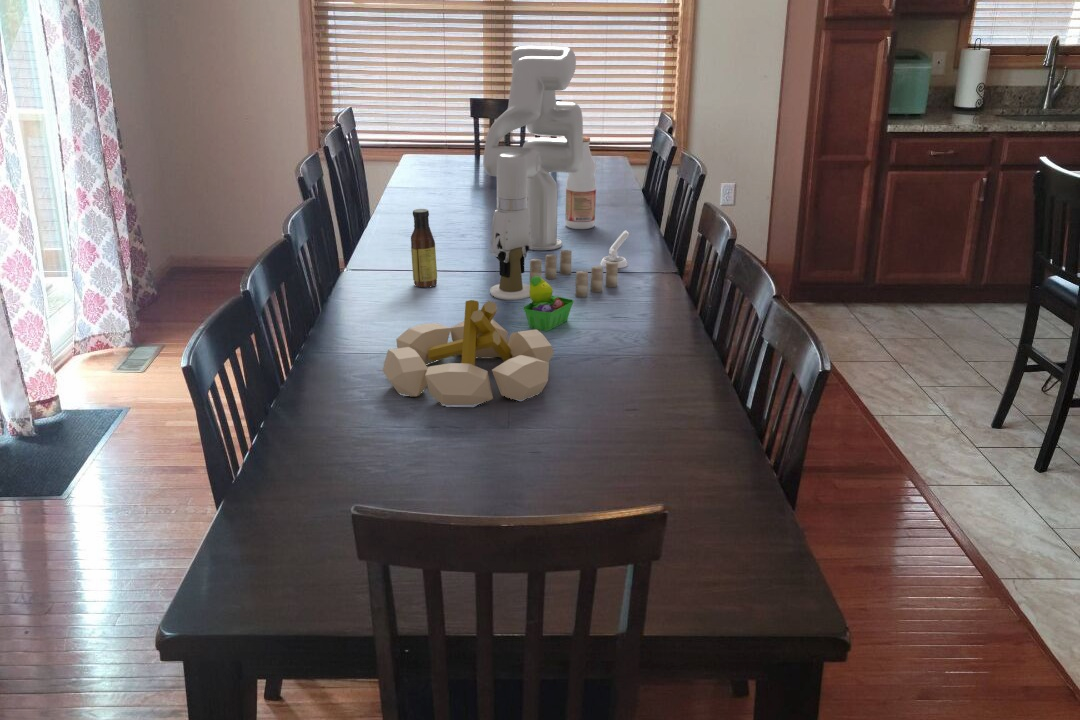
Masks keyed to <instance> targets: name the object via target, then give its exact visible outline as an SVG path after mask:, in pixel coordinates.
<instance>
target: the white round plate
mask: <svg viewBox="0 0 1080 720" xmlns="http://www.w3.org/2000/svg"><path fill="white" fill-rule="evenodd" d="M499 285H500V283H497V284H495V285H493V286H491V287H490V290H489V291H490V293H491V294H490V295H491V297H493V296H494V297H493V298H496V299H500V300H505V301H506V300H507V301H508V300H509V301H510V300H511V301H512V300H513V301H518V300H525V299H529V298H530V295H529V291H530V284H526V283H522V286H523V289H522V290H520V291H504V290H501V289H499Z"/></svg>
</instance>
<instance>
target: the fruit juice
mask: <svg viewBox="0 0 1080 720" xmlns="http://www.w3.org/2000/svg"><path fill="white" fill-rule="evenodd" d="M590 143H591V137H590V136H584V135H583V162H582V166H581V168H580V170H579V171H577V172H573V173H567V178H566V182H565V226H566V227H567V228H568V229H574V230H588V229H592V228H594V226H595V223H596V197H597V196H596V195H597V194H596V191H597V182H596V180H597V179H596V178H595V177H596V176H595V173H596V171H597V164H596V161H595V159H594V157H593V155H592V152H591V149H590Z"/></svg>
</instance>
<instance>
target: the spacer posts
mask: <svg viewBox="0 0 1080 720" xmlns="http://www.w3.org/2000/svg"><path fill="white" fill-rule="evenodd" d="M559 252H560V260H559V261H560V262H559V266H560V267H559V273H560V274H561V275H566V276H567V275H571V274H572V251H571V250H568V249H565V250H564V249H563V250H560V251H559ZM544 260H545V262H544V264H545V265H544V269H545V274H544V275H545V276H544V277H545V279H547V280H555V279H557V265H558V263H557V261H558V260H557V255H556V254H546V255H545V259H544ZM617 262H618V261H610V262H607V263H606V267H605V287H607V288H616V287H617V286H618V271H619V270H618V269H619V268H618V263H617ZM590 272H591V273H590V275H591V276H590V291H591V292H592V293H601V292H603V289H604V288H603V287H604V286H603V284H604V283H603V282H604V267H603V266H597V265H596V266H595V265H594V266H591V271H590ZM534 276H539V277H540V278H542V259H540V258H539V259H538V258H532V259H530V260H529V281H530V280H531V278H532V277H534ZM588 282H589V272H588V271H584V270H580V271H576V272H575V297H577V298H586V297H588V289H589V287H588V285H589V283H588Z"/></svg>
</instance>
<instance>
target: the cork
mask: <svg viewBox="0 0 1080 720" xmlns="http://www.w3.org/2000/svg"><path fill="white" fill-rule="evenodd" d="M503 255H505V252H503ZM521 257H522V249H521V248H516V249H513V250H510V254H509V260H508V262H510V277H509V278H507V277H503V276H500V281H499V284H500V285H499V289H501V290H504V291H520V290H522V289H523V286H522V284H523V278H522V276H523V275H522V273H521V265H520V259H521Z"/></svg>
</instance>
